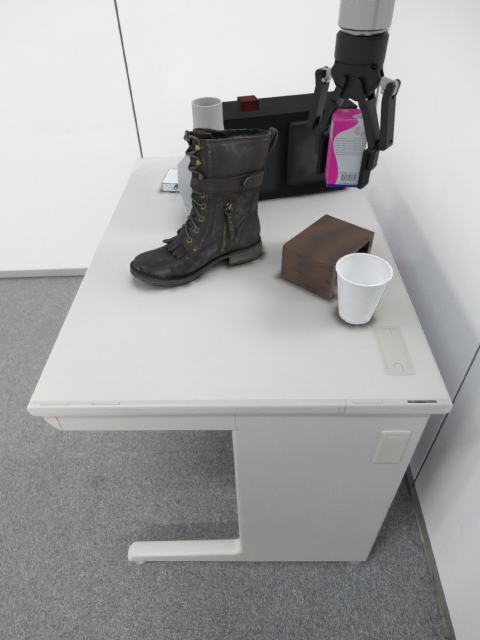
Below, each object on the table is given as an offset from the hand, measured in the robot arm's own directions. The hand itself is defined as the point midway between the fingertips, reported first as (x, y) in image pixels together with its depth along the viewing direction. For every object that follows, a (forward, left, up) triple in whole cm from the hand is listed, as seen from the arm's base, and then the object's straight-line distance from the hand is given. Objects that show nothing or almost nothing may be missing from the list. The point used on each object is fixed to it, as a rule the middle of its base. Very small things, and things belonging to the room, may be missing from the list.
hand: (341, 178), depth 79 cm
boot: (+24, +14, -22) cm, 35 cm away
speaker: (+33, -26, -22) cm, 47 cm away
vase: (+36, -2, -22) cm, 42 cm away
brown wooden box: (+2, -1, -22) cm, 22 cm away
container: (+56, -11, -22) cm, 61 cm away
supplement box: (0, 0, 0) cm, 0 cm away
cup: (-11, +7, -22) cm, 25 cm away
